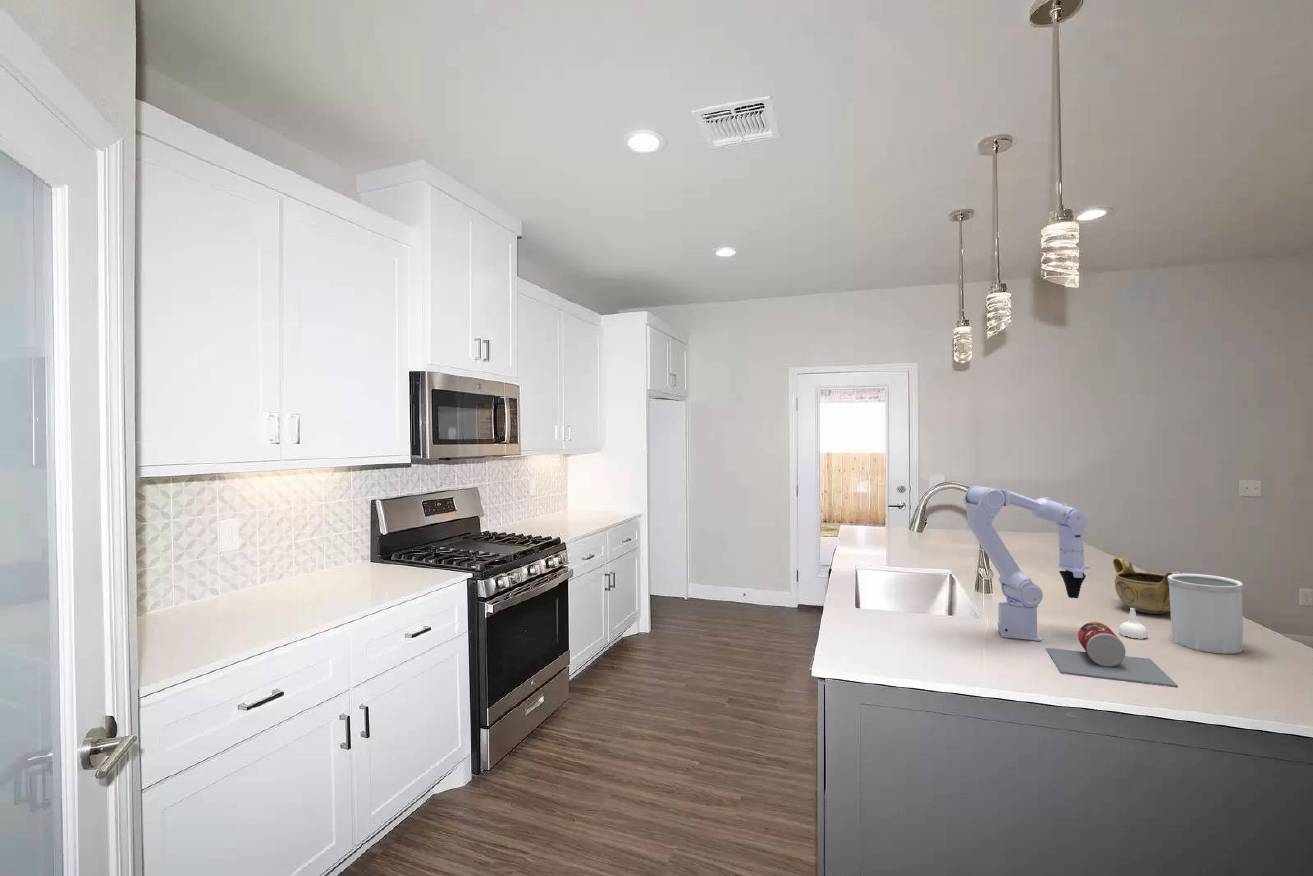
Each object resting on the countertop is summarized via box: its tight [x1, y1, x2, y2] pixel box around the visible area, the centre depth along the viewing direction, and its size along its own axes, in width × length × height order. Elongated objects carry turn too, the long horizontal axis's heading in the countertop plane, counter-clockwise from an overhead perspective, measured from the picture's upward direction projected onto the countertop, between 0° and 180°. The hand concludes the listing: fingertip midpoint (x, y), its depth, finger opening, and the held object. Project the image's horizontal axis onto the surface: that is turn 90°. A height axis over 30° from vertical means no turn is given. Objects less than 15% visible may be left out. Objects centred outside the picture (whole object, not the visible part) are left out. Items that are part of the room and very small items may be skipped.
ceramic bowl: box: [1112, 557, 1184, 615], centre depth 188 cm, size 22×17×15 cm
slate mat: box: [1045, 647, 1179, 688], centre depth 145 cm, size 22×17×1 cm
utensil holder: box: [1168, 573, 1244, 655], centre depth 158 cm, size 15×15×18 cm
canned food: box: [1077, 621, 1126, 667], centre depth 149 cm, size 8×8×11 cm
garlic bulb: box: [1118, 607, 1149, 640], centre depth 166 cm, size 6×6×8 cm
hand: (1073, 597), depth 168 cm, fingers closed
